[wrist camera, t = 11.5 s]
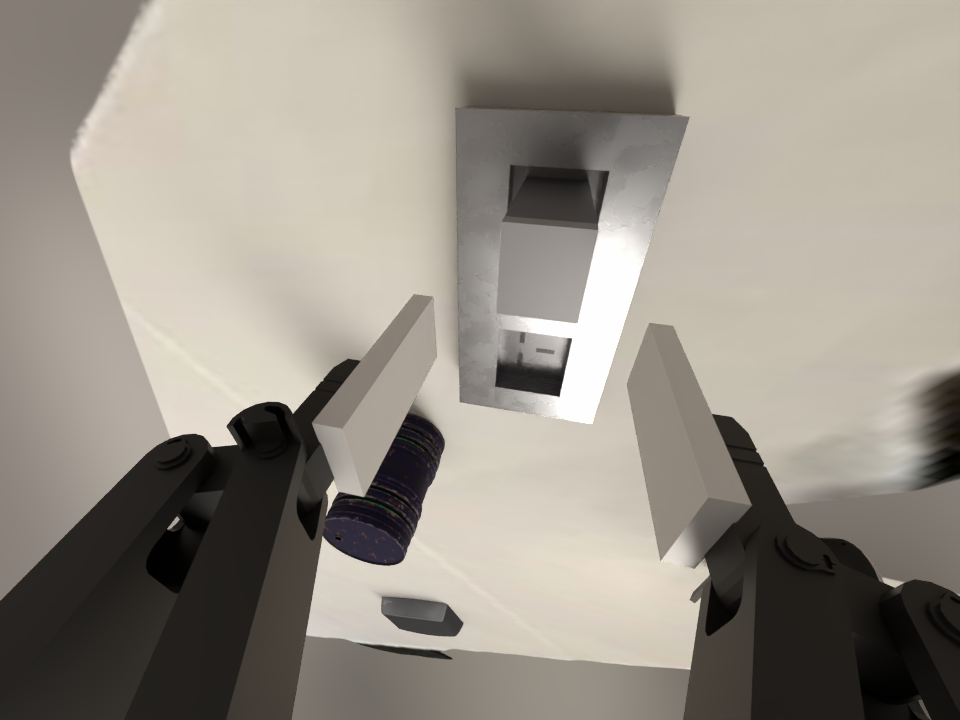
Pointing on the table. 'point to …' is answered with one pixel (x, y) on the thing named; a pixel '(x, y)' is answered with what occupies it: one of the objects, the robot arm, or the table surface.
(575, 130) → the socket board
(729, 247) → the table surface
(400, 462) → the storage jar
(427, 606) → the external hard drive
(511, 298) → the plug
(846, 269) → the table surface
